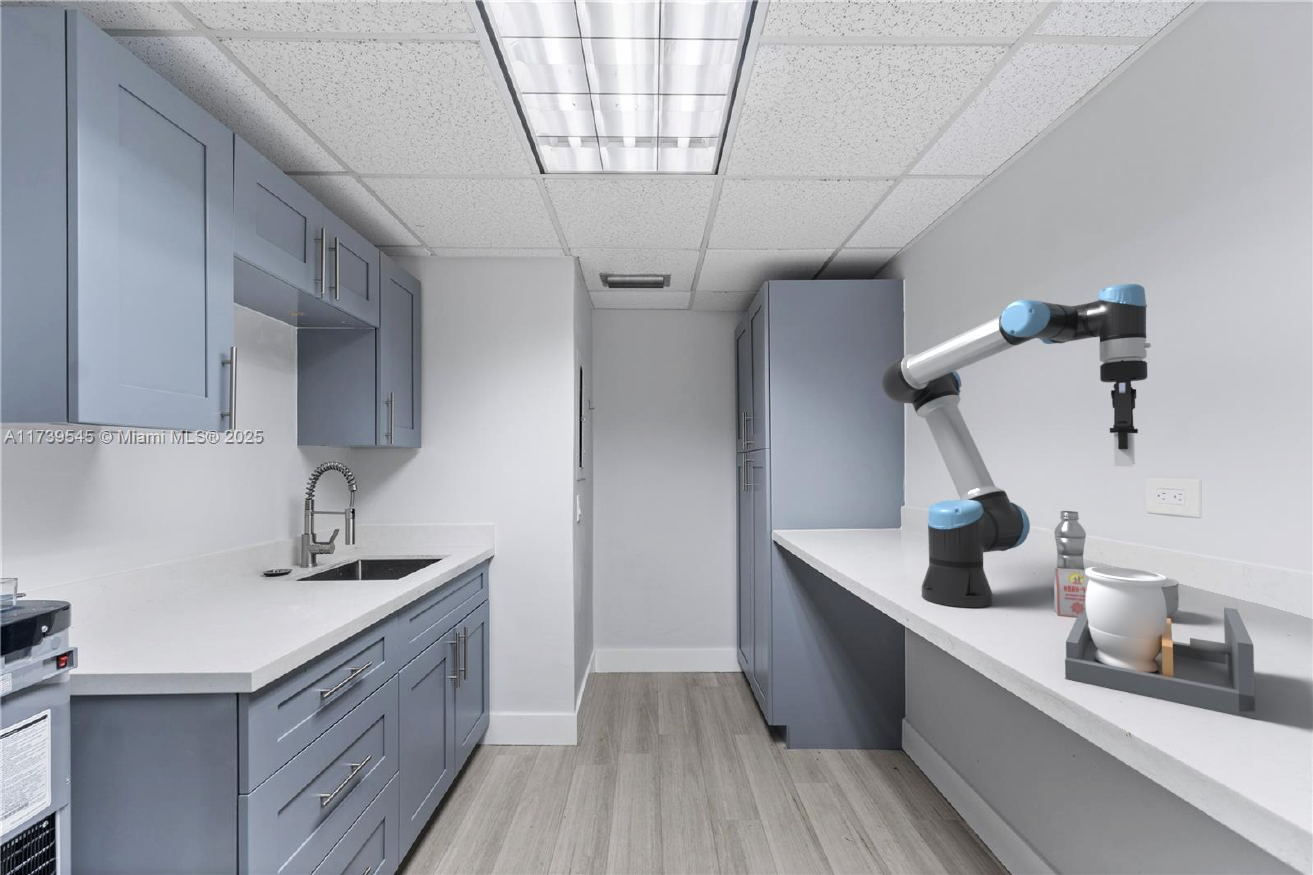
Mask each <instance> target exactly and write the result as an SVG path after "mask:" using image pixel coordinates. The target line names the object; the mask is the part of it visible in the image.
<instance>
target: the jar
mask: <svg viewBox="0 0 1313 875" xmlns="http://www.w3.org/2000/svg"><path fill="white" fill-rule="evenodd" d="M1084 570H1086V571H1085V574H1086V576H1087V577H1088V578H1089V582H1088V585H1087V590H1086V599H1085V605H1086V614H1087V618H1088V624H1089V629H1090V633H1091V637H1092V639H1093V641H1094V643H1095V645H1096V647H1097V648H1098V650H1097V651H1096V652H1095V654H1094V657H1095V659H1096V660H1097V661H1099V662H1101V663H1103V664H1105V665H1110V666H1115V667H1121V668H1126V669H1131V670H1136V671H1141V672H1146V673H1150V672H1155V671H1158V670H1159V668H1160V667H1159V664H1158V663H1157V661H1156V660H1155V658H1156V657H1157V656H1158V654H1159V653H1160V651H1161V648H1162V634H1164V633H1165V629H1166V623H1167V608H1166V602H1165V597H1164V594H1163V591H1162V588H1161V587H1162V586H1163V585H1164V584H1165V583H1166V580H1165V579H1166V578H1167V577H1166V576H1164V575H1162V574H1160V573H1156V572H1152V571H1147V570H1142V569H1136V568H1129V567H1128V568H1127V567H1118V566H1092V567H1091V566H1090V567H1086V568H1084Z"/></svg>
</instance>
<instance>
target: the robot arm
mask: <svg viewBox="0 0 1313 875" xmlns="http://www.w3.org/2000/svg"><path fill="white" fill-rule="evenodd" d="M1147 307H1148V304H1147V300H1146V291H1145V287H1144V286H1142V285H1141V284H1138V283H1137V284H1136V283H1125V284H1116V285H1111V286H1108V287H1105V288H1102V289H1101V290H1100V291H1099V292H1098V297H1097V300H1095V301H1092V302H1087V303H1083V304H1078V305H1065V304H1059V303H1051V302H1044V301H1041V300H1040V301H1039V300H1035V299H1021V300H1016V301H1014V302H1011V303H1010V304H1008V305H1007V307H1006V308H1005V309H1004V310H1003V312H1002V314H1001V315H999V316H997V317H995V318H993V319H991V320H989V321H986V322H984V323H983V324H980V325H977V326H976V327H973V328H972V329H969V330H967V331H965V332H963V333H961V334H959V335H956V336H954V337H952V338H950V339H947V340H945V341H943V342H942V343H939V344H936V345H935V346H933V347H931V348H929V349H926V350H925V351H923V352H920V353H918V354H914V353H909V354H906V355H904V356H902V357H900V358H898V359H895V361H892V363H890V364H888V365H887V367H886V368H885V369H884V371H883V373H882V376H881V387H882V391H883V392H884V394H885V395H886V396H887V397H888V398H889V399H890V400H892V401H893V402H897V403H901V404H912V407H913V409H914V412H915V413H916V415H917V416H918V417H920V418H923V419H925V421H926V424H927V425H928V428H929V430H930V432H931V435H932V437H933V440H934V442H935V443H936V446H937V448H938V451H939V452H940V455H941V457H942V460H943V462H944V464H945V466H946V469H947V471H948V473H949V476H950V477H951V480H952V482H953V485H954V487H955V489H956V492H957V494H958V496H959V499H953V500H951V499H948V500H942V501H938V502H935V503H933V504H932V505H930V506H929V508H928V517H927V527H928V528H927V529H928V530H927V532H928V567H927V571H926V573H925V575H924V579H923V581H922V584H921V597H922V598H923V599H924V600H926V601H929V602H933V603H936V604H939V605H940V604H941V605H945V606H951V607H958V608H960V607H961V608H983V607H989V606H991V605H993V592H992V589H991V586H990V583H989V581H988V578H987V576H986V573H985V572H986V571H985V570H984V553H991V552H1006V551H1008V550H1011V549H1015V548H1017V547H1020V546H1021V545H1022V544H1023V543H1024V542H1025V541H1026V540H1027V538H1028V534H1030V529H1031V528H1030V527H1031V524H1030V518H1029V516H1028V514H1027V512H1026V511H1025V510H1024V508H1023V507H1021V506H1020V505H1017V504H1016V503H1015V502H1012V501H1011V500H1010V498H1009V496H1008V494H1007V492H1006V491H1005V490H1004V489H1003V488H999V487H997V486H996V485H995V482H994V481H993V478H992V476H991V474H990V472H989V470H988V468H987V466H986V464H985V462H984V459H983V457H982V455H981V453H980V451H979V449H978V447H977V445H976V443H975V441H974V439H973V437H972V434H971V432H970V430H969V428H968V426H967V424H966V422H965V419H964V417H963V415H962V413H961V411H960V409H959V403H960V402H961V397H960V394H961V389H960V388H962V379H961V377H960V375H959V373H958V372H957V371H958V370H961V369H963V368H966V367H968V366H970V365H973V364H976V363H978V362H980V361H983V360H984V359H987V358H989V357H992V356H994V355H997V354H1000V353H1001V352H1004V351H1007V350H1009V349H1011V348H1013V347H1016V346H1019V345H1022V344H1024V343H1026V342H1029V341H1031V340H1034V339H1038V340H1040V341H1041V342H1042V343H1044V344H1046V345H1052V344H1065V343H1068V342H1073V341H1080V340H1085V339H1091V338H1099V344H1098V347H1099V349H1098V350H1099V361H1100V362H1101V363H1102V364H1101V365H1099V369H1100V370H1099V373H1100V376H1099V378H1100V379H1099V380H1100V381H1101V382H1103V383H1113V390H1112V389H1111V390H1110V398H1111V399H1112V400H1111V402H1112V403H1111V405H1112V408H1113V410H1114V411H1113V412H1114V413H1113V414H1114V416H1113V419H1114V420H1113V427H1109V433H1110V434H1113V444H1114V445H1113V446H1114V448H1113V450H1114V451H1113V452H1114V454H1113V455H1114V467H1132V468H1133V465H1135V464H1136V463H1135V461H1136V459H1135V434H1139V429H1138V428H1135V426H1134V409H1136V399H1137V388H1133V387H1132V382H1137V381H1139V382H1140V381H1144V380H1146V379H1147V378H1148V362H1147V361H1146V360H1144V359H1146V358H1147V355H1148V354H1147V353H1148V352H1147V351H1148V350H1147V349H1149V348H1151V347H1152V346H1151V345H1152V344H1151V343H1149V342H1147Z"/></svg>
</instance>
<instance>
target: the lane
mask: <svg viewBox="0 0 1313 875" xmlns="http://www.w3.org/2000/svg"><path fill="white" fill-rule="evenodd" d="M1223 612H1224V613H1223V620H1224V621H1223V626H1224V627H1223V628H1224V642H1221V641H1220V642H1219V641H1214V640H1206V639H1200V638H1194V637H1190V638H1189V643H1185V642H1179V641H1174V640H1172V643H1173V678H1172V677H1167V676H1163V674H1162V648H1161V651H1160V653H1159V654H1158V656H1157V657H1156V658H1155V660H1156V661H1157V663H1158V664H1159V667H1160V668H1159V670H1158V671H1155V672H1150V673H1146V672H1141V671H1136V670H1131V669H1126V668H1121V667H1115V666H1110V665H1105V664H1103V663H1101V662H1099V661H1097V660H1096V659H1095V657H1094V654H1095V652H1096V651H1097V650H1098V648H1097V647H1096V645H1095V643H1094V641H1093V639H1092V637H1091V633H1090V629H1089V622H1088V618H1087V616H1084V615H1078V616H1077V618H1075V621H1074V623H1073V625H1072V627H1071V629H1070V632H1069V634H1068V636H1067V638H1066V641H1065V653H1066V654H1065V659H1064V666H1065V667H1064V668H1065V669H1064V670H1065V672H1064V674H1065V675H1064V676H1065V678H1064V679H1065V680H1069V681H1075V682H1081V683H1085V684H1089V685H1094V686H1098V687H1103V688H1108V689H1112V690H1118V691H1122V692H1125V693H1126V692H1127V693H1131V694H1136V695H1141V696H1145V697H1151V698H1155V699H1158V700H1164V701H1167V702H1168V701H1169V702H1173V703H1178V704H1181V705H1183V704H1184V705H1188V706H1193V707H1196V708H1201V709H1206V710H1211V711H1217V712H1220V713H1225V714H1230V715H1234V716H1239V717H1243V718H1249V719H1254V720H1256V708H1255V707H1256V706H1255V705H1256V704H1255V702H1256V701H1255V700H1256V699H1255V695H1256V694H1255V660H1254V659H1255V658H1254V656H1255V655H1254V648H1255V647H1254V643H1253V640H1252V639H1251V636H1250V635H1249V632H1248V630H1247V628H1246V626H1245V624H1244V621H1243V618H1242V617H1241V615H1240V613H1239V611H1238V609H1237V608H1233V607H1232V608H1231V607H1225V606H1224V607H1223Z"/></svg>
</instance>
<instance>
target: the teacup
mask: <svg viewBox="0 0 1313 875" xmlns="http://www.w3.org/2000/svg"><path fill="white" fill-rule="evenodd" d="M1165 580H1166V583H1165V584H1164V585H1163V586H1162V587H1161V588H1162V591H1163V594H1164V597H1165V602H1166V608H1167V618H1170V616H1172V615H1174V614H1176V612H1178V610H1179V606H1180V605H1179V601H1180V600H1179V597H1180V596H1179V584H1180V583H1179V582H1178V580H1175V579H1172V578H1169V577H1166V579H1165Z"/></svg>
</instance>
